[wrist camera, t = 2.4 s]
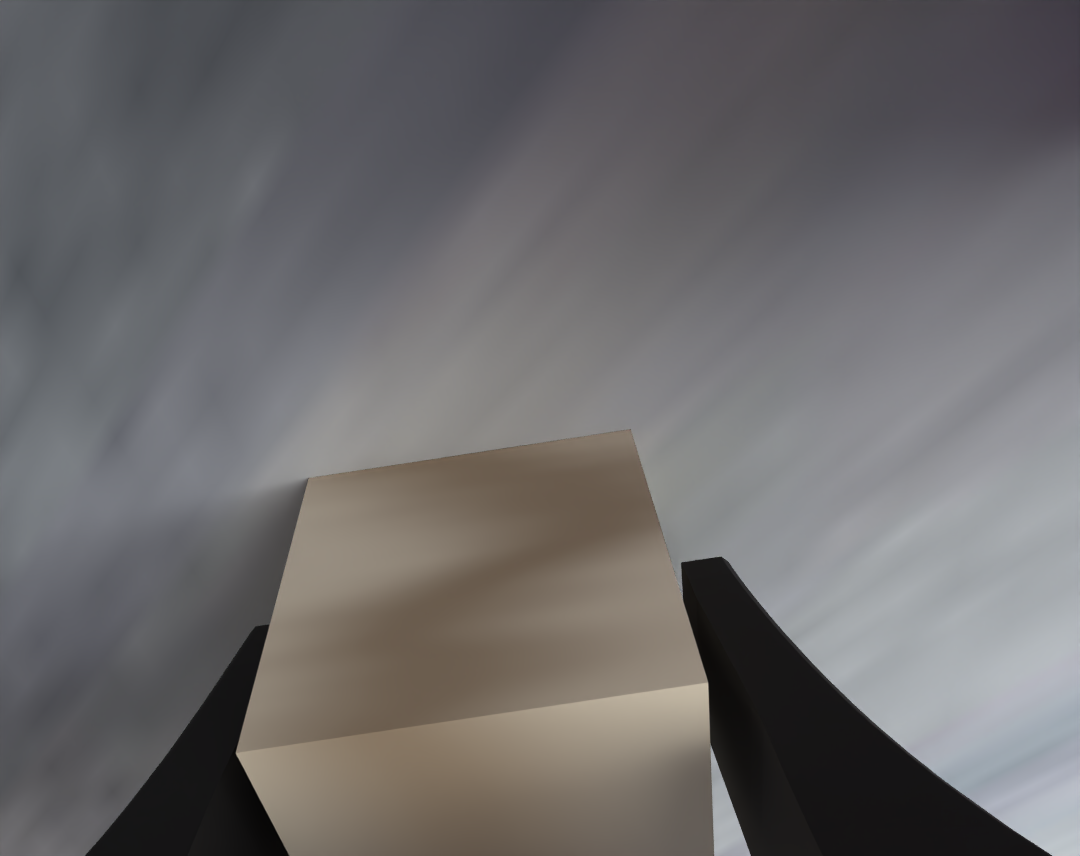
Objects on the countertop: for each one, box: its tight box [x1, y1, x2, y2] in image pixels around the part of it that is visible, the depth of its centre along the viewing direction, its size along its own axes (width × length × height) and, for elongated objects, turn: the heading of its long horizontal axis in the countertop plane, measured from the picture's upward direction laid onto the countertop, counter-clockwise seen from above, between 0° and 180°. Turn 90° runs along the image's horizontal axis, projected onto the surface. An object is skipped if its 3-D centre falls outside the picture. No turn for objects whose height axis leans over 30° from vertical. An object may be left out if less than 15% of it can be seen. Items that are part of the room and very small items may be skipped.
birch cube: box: [236, 429, 714, 856], centre depth 12 cm, size 5×5×5 cm
